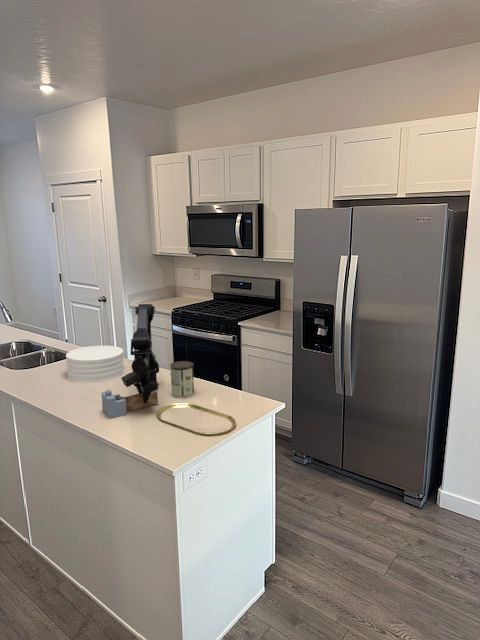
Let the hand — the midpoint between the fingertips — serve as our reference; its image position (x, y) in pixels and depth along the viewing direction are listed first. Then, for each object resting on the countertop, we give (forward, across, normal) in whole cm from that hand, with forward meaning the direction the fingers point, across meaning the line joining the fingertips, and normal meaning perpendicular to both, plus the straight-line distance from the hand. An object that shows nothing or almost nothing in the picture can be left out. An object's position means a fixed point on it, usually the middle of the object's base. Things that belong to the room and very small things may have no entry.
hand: (143, 401), depth 186 cm
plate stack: (+3, -55, -5) cm, 55 cm away
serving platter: (+3, +24, +12) cm, 27 cm away
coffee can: (+2, -4, +20) cm, 20 cm away
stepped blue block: (+2, 0, -13) cm, 13 cm away
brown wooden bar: (+2, 0, -2) cm, 3 cm away
